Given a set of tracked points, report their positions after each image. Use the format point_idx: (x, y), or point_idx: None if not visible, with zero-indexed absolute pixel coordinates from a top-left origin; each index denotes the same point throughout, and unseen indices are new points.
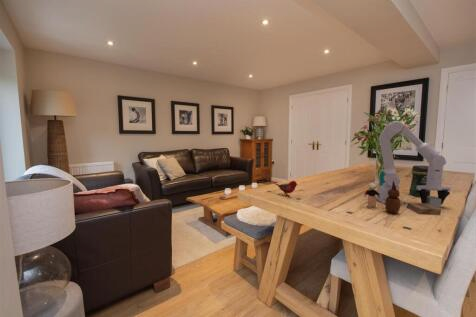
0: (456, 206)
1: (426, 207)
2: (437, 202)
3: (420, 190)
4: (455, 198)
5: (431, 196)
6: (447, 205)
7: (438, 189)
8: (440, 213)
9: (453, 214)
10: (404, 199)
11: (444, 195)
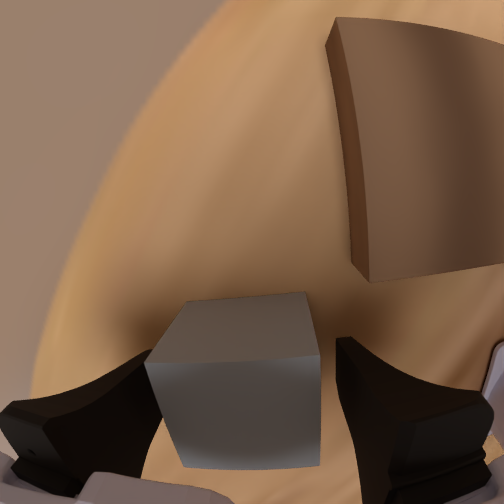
0: (46, 376)
1: (465, 84)
2: (209, 333)
3: (477, 465)
4: None
5: (224, 459)
6: None
7: (177, 489)
8: (328, 37)
9: (165, 104)
10: None
11: (81, 403)
